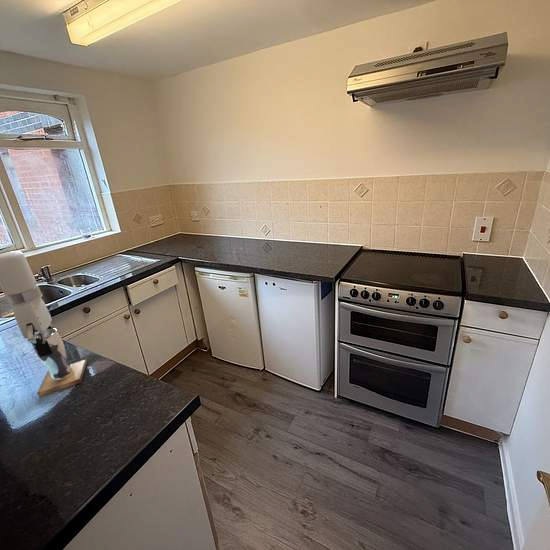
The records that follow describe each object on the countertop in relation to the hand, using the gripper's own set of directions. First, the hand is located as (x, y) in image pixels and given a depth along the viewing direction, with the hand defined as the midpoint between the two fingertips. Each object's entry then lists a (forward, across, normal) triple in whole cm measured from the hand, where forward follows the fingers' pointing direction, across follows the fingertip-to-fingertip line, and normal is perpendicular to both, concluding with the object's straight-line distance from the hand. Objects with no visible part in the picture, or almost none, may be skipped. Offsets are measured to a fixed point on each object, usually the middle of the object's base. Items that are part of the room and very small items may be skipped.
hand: (49, 347), depth 90 cm
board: (+12, 0, 0) cm, 12 cm away
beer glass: (+10, 0, 0) cm, 10 cm away
